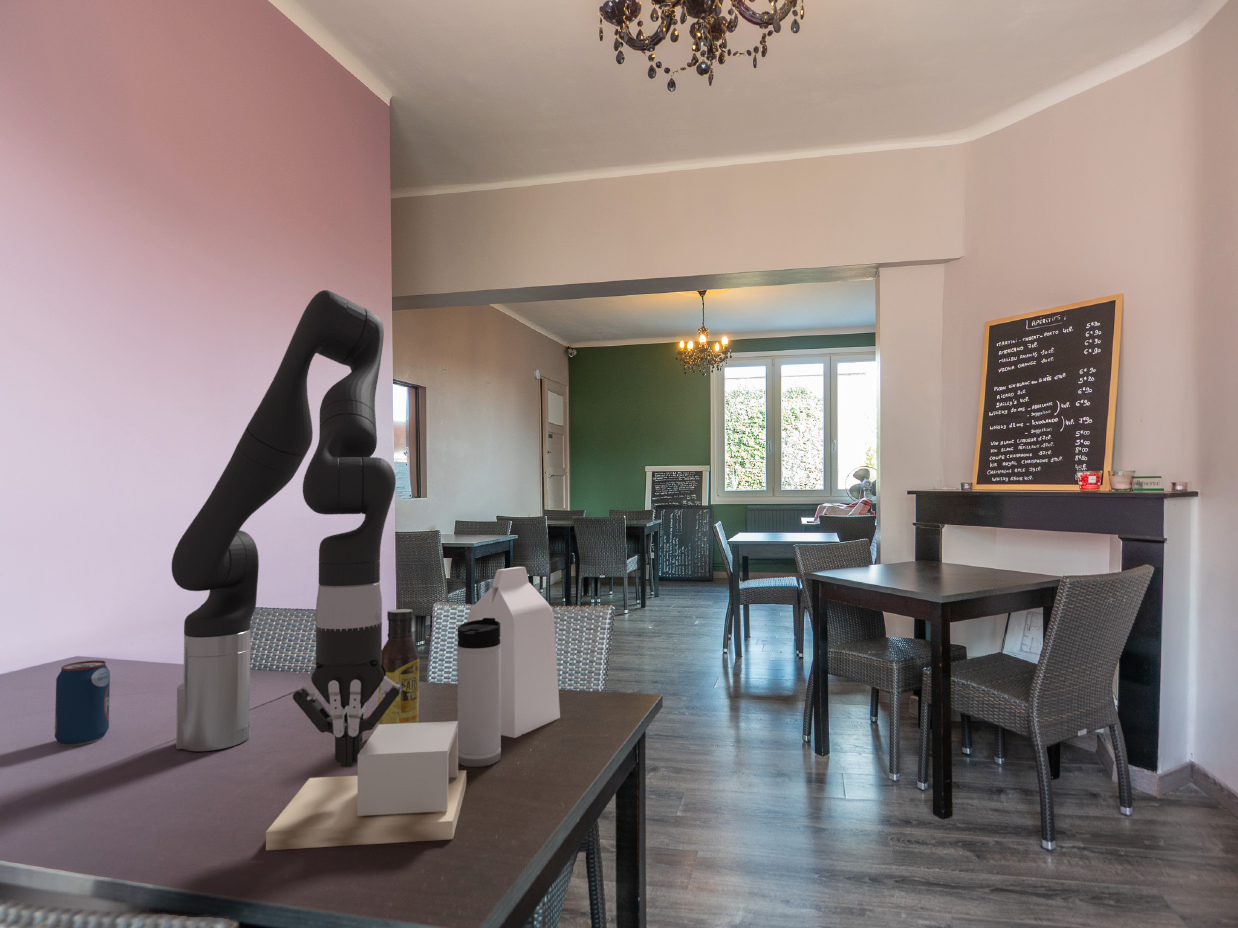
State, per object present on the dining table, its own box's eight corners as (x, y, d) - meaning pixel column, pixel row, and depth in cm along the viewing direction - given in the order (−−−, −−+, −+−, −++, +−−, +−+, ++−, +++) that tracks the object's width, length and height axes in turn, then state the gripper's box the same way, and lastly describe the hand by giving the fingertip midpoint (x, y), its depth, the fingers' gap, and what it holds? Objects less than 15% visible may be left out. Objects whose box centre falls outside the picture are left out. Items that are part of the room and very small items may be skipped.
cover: (357, 815, 82) (357, 754, 82) (378, 777, 92) (379, 724, 93) (447, 810, 83) (447, 750, 83) (457, 773, 94) (458, 720, 94)
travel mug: (509, 753, 107) (509, 618, 108) (487, 769, 101) (487, 626, 102) (472, 749, 109) (472, 616, 110) (448, 764, 103) (448, 623, 104)
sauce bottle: (406, 741, 113) (407, 614, 113) (370, 739, 114) (370, 613, 115) (425, 728, 119) (426, 607, 120) (391, 726, 120) (391, 606, 121)
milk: (514, 737, 114) (514, 573, 115) (461, 725, 120) (461, 569, 121) (560, 717, 124) (559, 566, 126) (509, 707, 131) (508, 563, 132)
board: (265, 850, 78) (266, 789, 79) (309, 793, 93) (310, 742, 94) (452, 838, 81) (452, 780, 81) (466, 785, 96) (466, 735, 96)
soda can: (118, 736, 117) (119, 661, 117) (70, 750, 110) (72, 671, 111) (92, 730, 119) (94, 657, 120) (44, 743, 113) (46, 666, 114)
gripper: (410, 614, 92) (410, 751, 91) (303, 617, 90) (301, 756, 90) (399, 624, 84) (398, 774, 84) (281, 627, 83) (280, 780, 82)
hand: (348, 765), depth 87 cm, fingers closed
